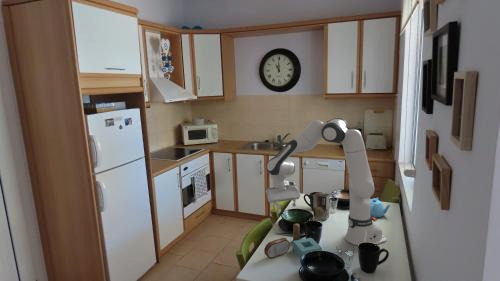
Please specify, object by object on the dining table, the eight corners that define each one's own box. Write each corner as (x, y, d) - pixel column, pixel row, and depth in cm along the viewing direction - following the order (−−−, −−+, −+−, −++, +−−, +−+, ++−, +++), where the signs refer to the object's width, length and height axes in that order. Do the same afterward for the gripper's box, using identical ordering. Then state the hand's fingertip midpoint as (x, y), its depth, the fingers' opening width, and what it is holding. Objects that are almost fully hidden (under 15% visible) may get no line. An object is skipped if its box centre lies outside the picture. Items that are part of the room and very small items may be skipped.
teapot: (357, 210, 218) (357, 195, 216) (377, 208, 221) (377, 193, 219) (369, 219, 203) (370, 204, 201) (390, 217, 206) (391, 202, 204)
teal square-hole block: (311, 246, 173) (311, 237, 172) (321, 256, 162) (321, 247, 161) (293, 249, 170) (293, 241, 169) (302, 260, 159) (302, 251, 158)
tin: (287, 249, 170) (287, 235, 168) (290, 252, 167) (290, 237, 166) (263, 258, 162) (263, 243, 161) (267, 260, 160) (267, 245, 158)
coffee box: (329, 217, 208) (330, 193, 205) (326, 220, 203) (326, 197, 200) (316, 214, 213) (316, 191, 210) (312, 217, 208) (313, 194, 205)
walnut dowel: (297, 239, 180) (297, 223, 178) (300, 242, 177) (300, 225, 175) (292, 240, 179) (292, 224, 177) (294, 243, 176) (294, 226, 174)
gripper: (266, 186, 188) (272, 207, 181) (297, 182, 194) (304, 202, 187) (263, 190, 193) (269, 211, 186) (294, 186, 199) (300, 207, 192)
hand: (287, 207), depth 187 cm, fingers open, 8 cm apart
